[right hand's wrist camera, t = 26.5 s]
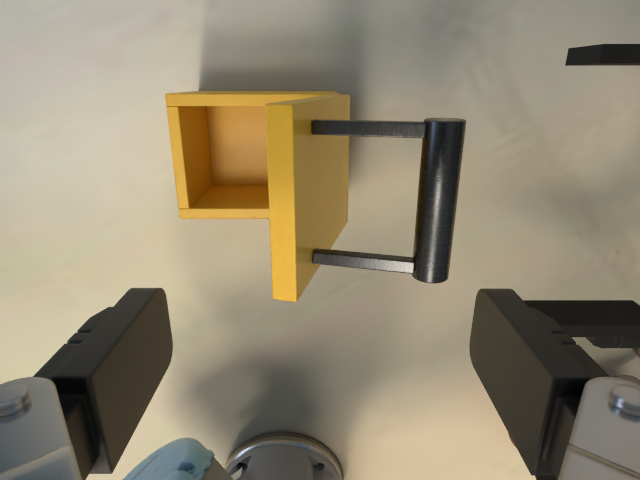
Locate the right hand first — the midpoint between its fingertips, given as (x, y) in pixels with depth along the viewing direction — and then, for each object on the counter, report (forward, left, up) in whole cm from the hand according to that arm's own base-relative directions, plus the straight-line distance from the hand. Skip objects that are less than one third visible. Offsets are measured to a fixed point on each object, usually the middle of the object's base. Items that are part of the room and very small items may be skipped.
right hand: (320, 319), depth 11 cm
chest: (-1, +5, -32) cm, 33 cm away
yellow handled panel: (0, +1, -16) cm, 16 cm away
